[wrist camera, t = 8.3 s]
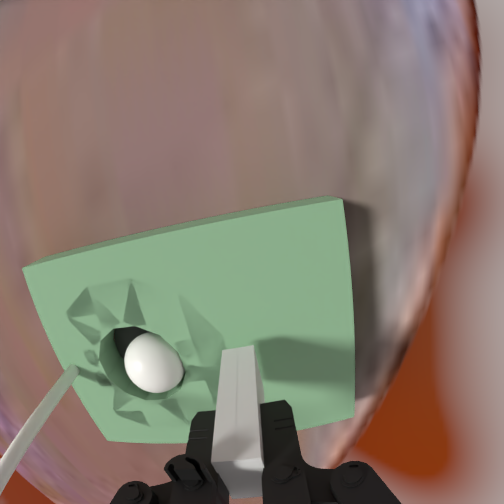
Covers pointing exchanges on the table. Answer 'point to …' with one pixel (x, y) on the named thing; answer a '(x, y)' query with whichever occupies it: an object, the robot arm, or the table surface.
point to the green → (201, 318)
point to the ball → (153, 363)
